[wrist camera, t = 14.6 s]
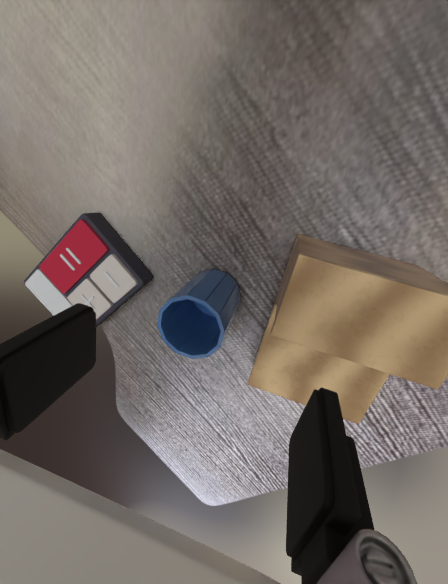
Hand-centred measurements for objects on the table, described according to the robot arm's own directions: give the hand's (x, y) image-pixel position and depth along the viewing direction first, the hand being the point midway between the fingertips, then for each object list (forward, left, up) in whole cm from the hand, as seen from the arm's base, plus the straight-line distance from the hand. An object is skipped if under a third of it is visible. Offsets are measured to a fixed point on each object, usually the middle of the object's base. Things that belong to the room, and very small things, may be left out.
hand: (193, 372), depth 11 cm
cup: (+4, +7, -22) cm, 24 cm away
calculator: (+21, +10, -23) cm, 33 cm away
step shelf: (-10, +6, -22) cm, 25 cm away
